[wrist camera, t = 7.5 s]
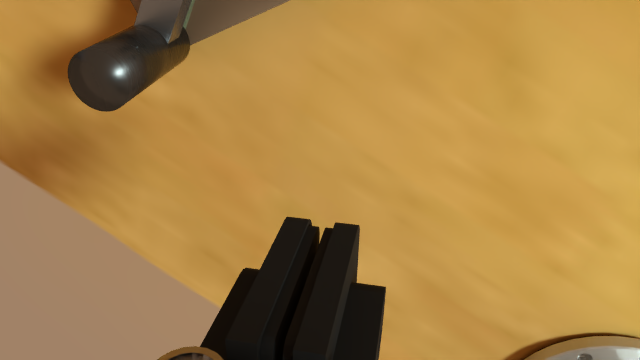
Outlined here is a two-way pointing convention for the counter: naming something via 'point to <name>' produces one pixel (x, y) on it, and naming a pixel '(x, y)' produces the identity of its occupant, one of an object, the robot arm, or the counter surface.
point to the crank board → (219, 15)
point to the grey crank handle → (132, 56)
